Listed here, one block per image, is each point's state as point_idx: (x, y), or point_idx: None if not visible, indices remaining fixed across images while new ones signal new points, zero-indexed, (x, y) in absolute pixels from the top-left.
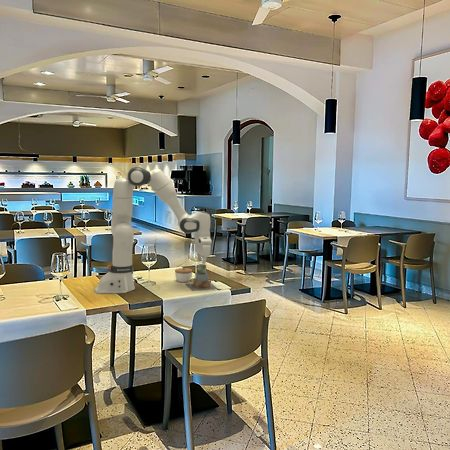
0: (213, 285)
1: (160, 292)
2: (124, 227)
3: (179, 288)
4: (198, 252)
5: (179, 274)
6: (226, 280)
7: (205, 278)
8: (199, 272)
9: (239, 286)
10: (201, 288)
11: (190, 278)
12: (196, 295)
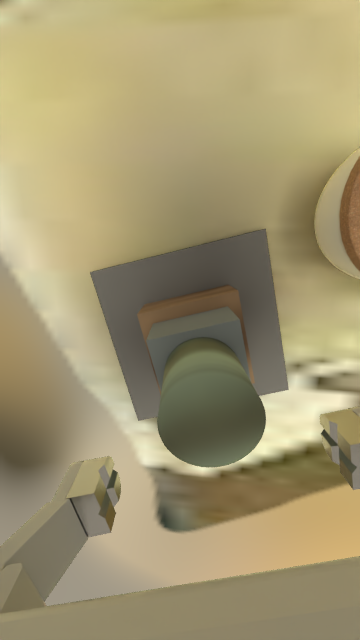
0: None
1: (76, 32)
2: None
3: (186, 188)
4: (298, 624)
5: (350, 162)
6: None
7: None
8: (170, 357)
9: (216, 510)
10: None
11: (339, 269)
12: (31, 295)
